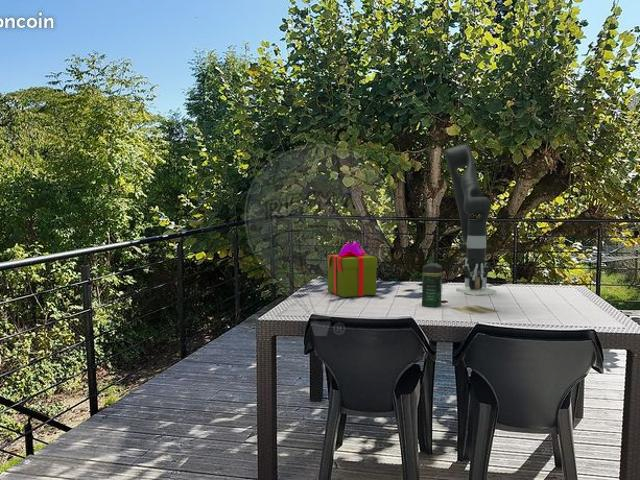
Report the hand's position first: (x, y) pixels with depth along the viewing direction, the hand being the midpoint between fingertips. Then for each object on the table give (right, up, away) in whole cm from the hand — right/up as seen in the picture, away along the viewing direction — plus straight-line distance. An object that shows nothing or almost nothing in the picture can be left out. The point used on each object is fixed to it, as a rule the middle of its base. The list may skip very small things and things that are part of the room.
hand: (475, 288), depth 233 cm
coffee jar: (-16, -9, +10) cm, 21 cm away
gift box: (-48, -6, +41) cm, 64 cm away
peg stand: (0, -1, 0) cm, 1 cm away
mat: (-1, -9, +1) cm, 9 cm away
